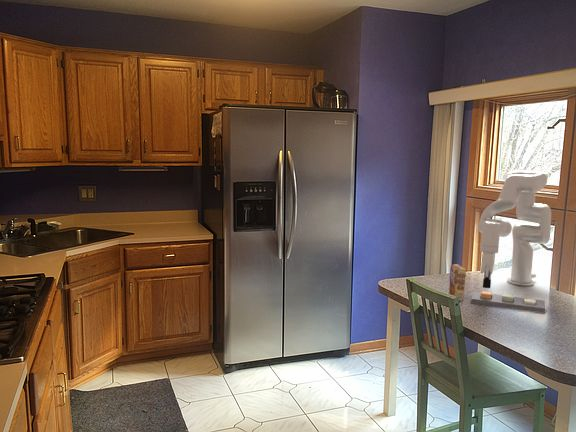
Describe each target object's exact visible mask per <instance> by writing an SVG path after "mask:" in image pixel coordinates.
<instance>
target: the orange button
mask: <svg viewBox="0 0 576 432" xmlns="http://www.w3.org/2000/svg"><path fill="white" fill-rule="evenodd" d="M492 294H493V292H492V291H486V290H485V291H484V290H482V291H481V298H487V299H491V298H492Z"/></svg>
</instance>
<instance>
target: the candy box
mask: <svg viewBox="0 0 576 432" xmlns="http://www.w3.org/2000/svg"><path fill="white" fill-rule="evenodd" d="M449 270H450V271H449V285H448V295H449V294H451V295H454V296H456V297H458V298H459V300H460V302H461V301H464V300H465V299H464V297H465V289H466V288H465V285H466V274H467V269H466V268H465V267H463V266H461V265H460V264H455V263H454V264H450V269H449Z"/></svg>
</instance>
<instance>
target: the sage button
mask: <svg viewBox="0 0 576 432" xmlns="http://www.w3.org/2000/svg"><path fill="white" fill-rule="evenodd" d="M502 295H503V296H502V301H509V302H513V297H514V294H509V293H502Z"/></svg>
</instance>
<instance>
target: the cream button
mask: <svg viewBox="0 0 576 432" xmlns="http://www.w3.org/2000/svg"><path fill="white" fill-rule="evenodd" d="M523 298H524V304H532V305H535V304H536V301H535V300H536V299H535V300H533V298H527V299H525V297H523Z"/></svg>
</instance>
